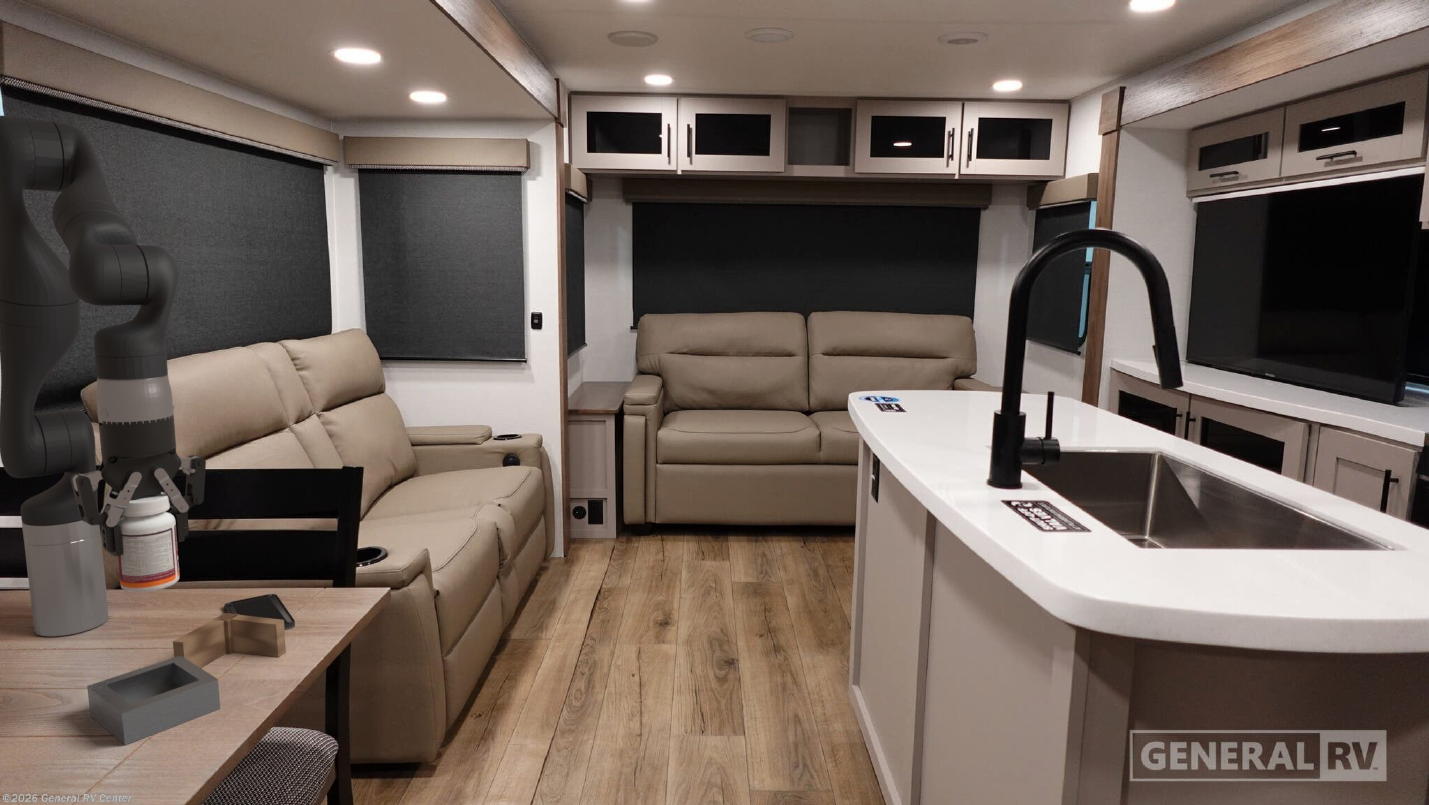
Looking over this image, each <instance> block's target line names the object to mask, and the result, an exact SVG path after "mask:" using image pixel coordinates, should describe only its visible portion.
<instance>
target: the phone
mask: <svg viewBox="0 0 1429 805" xmlns="http://www.w3.org/2000/svg"><path fill="white" fill-rule="evenodd" d="M223 607H224V612H225V613H231V614H240V615H244V616H253V617H262V618H271V619H280V620H284V630H285V631H288V630H291V629H294V628H295V627H296V622H295V621H296V620H295V619H294V618H293V616H292V615H291V613H290V611H288V609H287V608H286V606H285V604H284V603H283V602H282V600H281V599H280V597H279V596H278V595H277V594H276V593H268V594H262V595H258V596H252V597H248V598H244V599H243V598H242V599H238V600H233V601H228V602H226V603H224V605H223Z"/></svg>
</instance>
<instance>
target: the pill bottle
mask: <svg viewBox="0 0 1429 805" xmlns="http://www.w3.org/2000/svg"><path fill="white" fill-rule="evenodd" d="M170 508H171V507H170V504H169V496H168V495H166V494H165V493H163V492H161V494H158V495H145V496H143V497H140V498H136V499H131V500H130V502H129V504H128V506H127V508H126V509H124V510H123V512H122V515H121V517H120V519H119V521H118V523H117V525H119V526H120V527H121V539H122V550H123V554H122V555H120V556H117V560H118V573H119V574H118V575H119V582H120V587H121V589H122V590H123V591H125V592H130V593H135V594H136V593H139V594H140V593H141V594H142V593H143V594H144V593H151V592H157V591H160V590H165V589H167V588H170V587H171V586H173V585H175V584H176V583H177V582H178V581H179V580H180V565H179V554H178V551H179V550H178V542H177V536H176V522H175V518H174V516H173V515H172V514H171V513H169V512H168V511H169V509H170Z"/></svg>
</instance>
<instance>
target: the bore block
mask: <svg viewBox="0 0 1429 805" xmlns="http://www.w3.org/2000/svg"><path fill="white" fill-rule="evenodd" d="M86 687H87V697H88V707H89V708H88V709H89V716H90V717H91V718H92V719H94V720H95V721H96V723H98V724H99V725H100V726H102V727H103V728H104V729H105V730H106V731H108V733H110V734H111V735H112V736H114V737H115V739H116V740H118V741H119V742H120V743H122V745H124V746H127V745H130V744H132V743H135V742H138V741H140V740H142V739H145V738H147V737H150V736H152V735H155V734H158V733H160V732H164V731H166V730H168V729H170V728H174V727H176V726H179V725H182V724H183V723H187V722H189V721H192V720H194V719H198V718H200V717H202V716H205V715H207V714H210V713H213V712H215V711H217V710H221V700H220V689H219V679H218V678H217V677H215V676H214V675H212V674H211V673H209V672H207V671H206V670H204V669H202V668H200V667H198V666H197V665H195V664H193V663H192V662H190V661H189V660H187V659H186V658H184V657H182V656H181V655H180V656H177V657H174V656H173V657H172V658H169V659H166V660H162V661H160V662H157V663H154V664H150V665H146V666H144V667H141V668H138V669H135V670H132V671H129V672H126V673H123V674H119V675H116V676H113V677H111V678H107V679H104V680H100V681H98V682H95V683H92V684H89V685H87V686H86Z"/></svg>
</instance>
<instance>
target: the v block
mask: <svg viewBox="0 0 1429 805" xmlns="http://www.w3.org/2000/svg"><path fill="white" fill-rule="evenodd" d="M285 631H286V630H284V620H280V619H271V618H262V617H253V616H244V615H240V614H231V613H226V612H225V613H222V614H221V615H219V616H217V617H215V618H213V619H212V620H211V621H209V622H206V623H205V624H203V625H201V626H199V627H197V628H195V629H193V630H192V631H190V632H188V633H186V634H183V635H182V636H180V637H179V638H177V639H174V640H173V641H172V647H173V658H174V657H177V656H180V655H181V656H182V657H184V658H186V659H187V660H189V661H190V662H192V663H193V664H195V665H197V666H198V667H200V668H201V669H202V668H204V667H205V666H207V665H209V664H211V663H212V662H214V661H216V660H217V659H219V658H221V657H223V656H224V655H226V654H229V655H231V654H232V653H241V654H250V655H254V656H255V655H258V656H265V657H273V658H280V657H281V656H283V655H284V654H286V653H287V650H286V647H287V646H286V632H285Z"/></svg>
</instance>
